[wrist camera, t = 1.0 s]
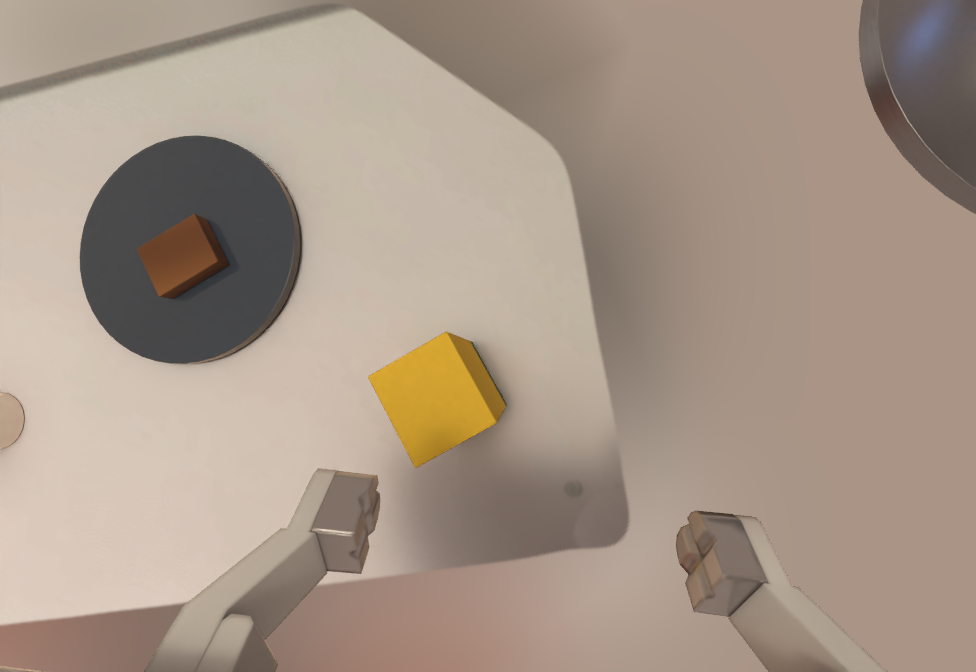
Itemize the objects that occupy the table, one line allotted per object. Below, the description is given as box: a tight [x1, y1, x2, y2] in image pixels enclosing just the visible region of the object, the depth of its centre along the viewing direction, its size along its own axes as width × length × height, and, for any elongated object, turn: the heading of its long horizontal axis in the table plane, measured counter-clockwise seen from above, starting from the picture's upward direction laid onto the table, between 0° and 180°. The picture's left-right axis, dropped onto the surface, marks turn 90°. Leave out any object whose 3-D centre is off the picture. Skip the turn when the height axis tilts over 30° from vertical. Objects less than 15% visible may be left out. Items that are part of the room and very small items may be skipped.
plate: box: [80, 136, 300, 364], centre depth 31 cm, size 17×17×1 cm
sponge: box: [368, 332, 507, 468], centre depth 25 cm, size 5×4×9 cm
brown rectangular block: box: [137, 214, 229, 299], centre depth 30 cm, size 4×5×1 cm
